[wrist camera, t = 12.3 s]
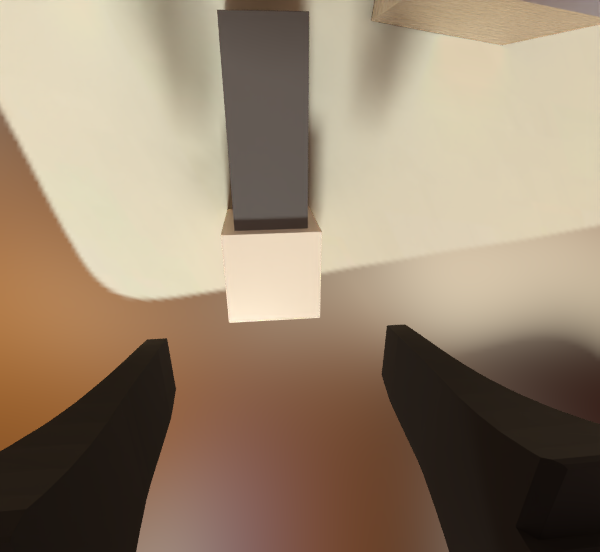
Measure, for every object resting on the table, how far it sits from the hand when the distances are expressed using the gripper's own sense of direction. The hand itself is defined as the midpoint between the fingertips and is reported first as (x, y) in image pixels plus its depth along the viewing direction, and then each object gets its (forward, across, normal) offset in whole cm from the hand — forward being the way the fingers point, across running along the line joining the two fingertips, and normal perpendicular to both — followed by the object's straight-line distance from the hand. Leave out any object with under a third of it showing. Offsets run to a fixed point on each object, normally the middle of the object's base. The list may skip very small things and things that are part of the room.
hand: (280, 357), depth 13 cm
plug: (+8, 0, -5) cm, 10 cm away
